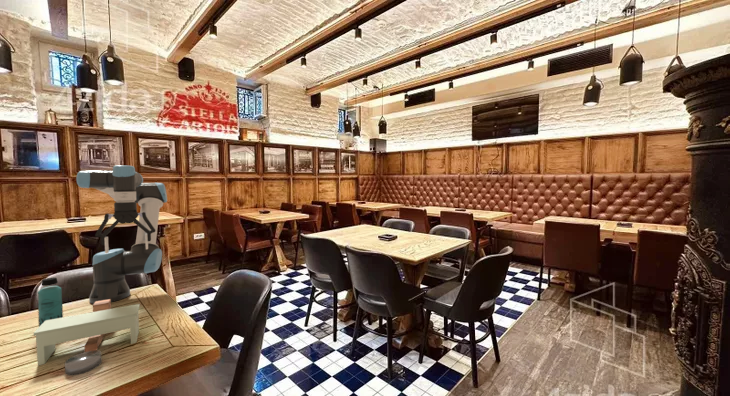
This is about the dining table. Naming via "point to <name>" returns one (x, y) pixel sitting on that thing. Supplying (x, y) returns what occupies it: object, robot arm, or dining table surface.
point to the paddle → (96, 340)
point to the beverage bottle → (49, 301)
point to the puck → (83, 362)
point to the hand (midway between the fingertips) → (127, 250)
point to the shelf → (85, 328)
